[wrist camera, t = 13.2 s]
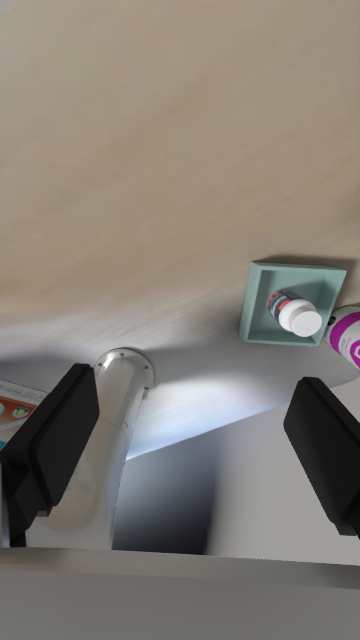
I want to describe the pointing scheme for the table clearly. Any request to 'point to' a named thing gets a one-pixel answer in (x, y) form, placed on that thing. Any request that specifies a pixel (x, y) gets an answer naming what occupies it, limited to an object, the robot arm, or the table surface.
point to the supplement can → (345, 333)
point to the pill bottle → (294, 312)
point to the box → (16, 408)
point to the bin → (302, 279)
